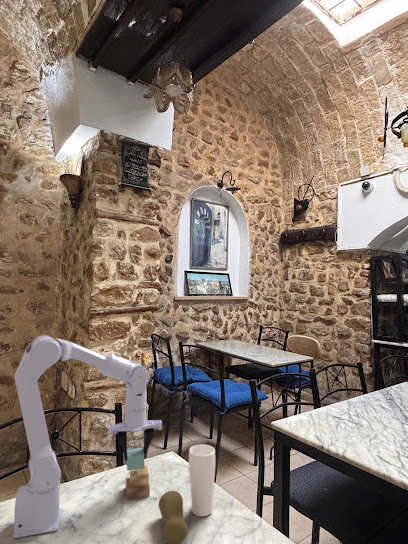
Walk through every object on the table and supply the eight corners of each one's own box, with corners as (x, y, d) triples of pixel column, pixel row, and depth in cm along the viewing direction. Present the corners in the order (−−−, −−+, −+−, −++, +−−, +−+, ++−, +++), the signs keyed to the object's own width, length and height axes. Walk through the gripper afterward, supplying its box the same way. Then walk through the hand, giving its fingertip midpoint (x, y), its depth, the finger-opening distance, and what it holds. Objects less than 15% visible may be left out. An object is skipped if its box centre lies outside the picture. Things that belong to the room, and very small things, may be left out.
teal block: (127, 470, 90) (127, 457, 90) (126, 462, 94) (126, 449, 94) (144, 468, 91) (144, 454, 91) (142, 460, 95) (142, 447, 95)
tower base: (126, 501, 89) (127, 489, 89) (125, 488, 95) (126, 477, 95) (149, 497, 91) (149, 486, 91) (147, 485, 97) (147, 474, 97)
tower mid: (129, 487, 90) (130, 476, 91) (129, 477, 95) (130, 466, 95) (148, 485, 91) (148, 473, 92) (147, 475, 96) (147, 464, 96)
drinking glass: (197, 523, 80) (198, 458, 81) (183, 508, 86) (184, 448, 87) (220, 513, 84) (220, 451, 85) (205, 499, 89) (205, 441, 90)
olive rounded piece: (175, 518, 83) (182, 554, 72) (154, 510, 82) (157, 545, 71) (187, 495, 84) (195, 527, 73) (165, 487, 83) (170, 518, 72)
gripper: (108, 415, 88) (108, 469, 87) (163, 410, 92) (163, 461, 91) (108, 406, 94) (108, 456, 93) (160, 402, 98) (159, 449, 97)
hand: (135, 458), depth 93 cm, fingers closed on teal block, 4 cm apart
